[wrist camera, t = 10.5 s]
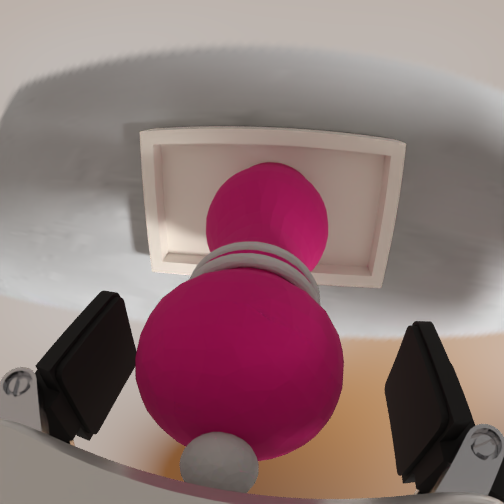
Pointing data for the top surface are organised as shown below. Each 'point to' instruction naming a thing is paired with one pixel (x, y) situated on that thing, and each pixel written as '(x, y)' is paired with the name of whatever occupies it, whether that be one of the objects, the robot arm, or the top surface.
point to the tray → (278, 151)
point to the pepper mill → (246, 334)
